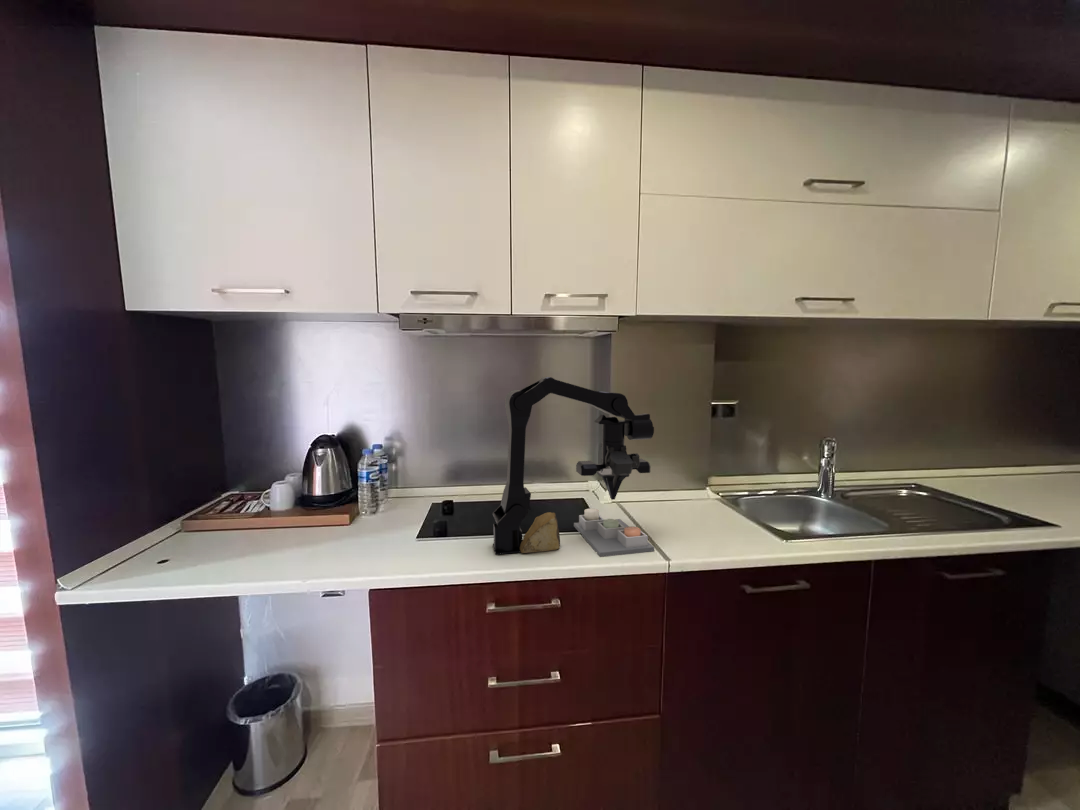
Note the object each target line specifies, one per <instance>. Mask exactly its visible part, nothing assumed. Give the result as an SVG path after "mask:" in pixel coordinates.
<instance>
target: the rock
mask: <svg viewBox="0 0 1080 810" xmlns="http://www.w3.org/2000/svg"><path fill="white" fill-rule="evenodd" d="M560 547H561V537H560V530H559V525H558V518H557V516H556V512H551V511H550V512H549V511H548V512H545V513H543V514H540V515H538V516H536V517H535V518H534V521H533V523H532V524H531V525H530V527H529V528H528V530H527V532H525V533H524V535H523V536H522V542H521V544H520V548H519V549H520V551H521V552H520V553H521V554H527V553H536V552H549V551H556V550H559V549H560Z"/></svg>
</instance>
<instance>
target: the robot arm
mask: <svg viewBox="0 0 1080 810" xmlns="http://www.w3.org/2000/svg"><path fill="white" fill-rule="evenodd" d="M550 394H552V395H555V396H559V397H563V398H565V399H570V400H574V401H575V402H576V401H577V402H580V403H584V404H587V405H589V406H591V407H592V408H595V409H597V410H599V411H601V412H603V413H605V414H607V415H611V416H606V415H605V414H602V413H600V415H599V416H598V417H597V418H596V419H594V424H597V425H598V424H599V425H602V427H601V428H602V430H601V431H602V433H601V434H602V435H601V439H602V440H601V443H600V447H601V448H602V449H601V451H602V453H601V458H600V462H601V463H595V462H594V461H592V460H578V461H577V463H576V464H575V472H577V473H578V474H579V475H580V476H582V477H588V476H589V477H590V476H592V477H593V476H595V475H598V476H600V478H602V480H603V482H604V484H605V488H606V490H607V492H608V496H609V498H610V499H611V500H616V498H617V495H618V492H619V489H620V487H621V486H622V483H623V482H624V480H625V479H626V478H629V477H630V474H632V471H633V470H636V471H637V472H638V473H639V474H649V473H651V464H650V462H649V461H647V460H645V459H643V458H640V455H639V454H638V453H637V452H636V453H629V454H628V452H627V446H626V444H625V437H627V439H628V440H631V441H633V440H634V441H635V440H638V441H639V440H651V439H652V438H653V436H654V433H655V427H654V424H653V421H652V419H651V414H649V413H640V414H636V413H634V411H633V410H632V408H630V406H629V402H628V399H627V397H626V395H624V393H618V392H610V391H600V390H593V389H590V388H586V387H582V386H579V385H576V384H572V383H569V382H566V381H561V380H560V379H559V380H558V379H555V378H554V377H552V376H551V377H550V376H544V377H543V376H542V377H541V378H539V379H538V380H537V381H535V382H534V383H532V384H529V385H527V386H526V387H523V388H521V389H520V390H518V389H516V390H514V389H513V390H512V391H509V392H508V393H507V394H506V395H505V399H504V406H505V414H506V418H507V424H508V448H507V468H506V469H507V472H506V473H507V474H506V476H507V477H506V483H505V486H504V488H503V492H502V496H501V501H500V504H499V506H497V508H496V509H495V510H494V511H493V512H492V516H493V520H494V521H495V522H496V523H493V524H492V525H493V543H492V547H493V551H494V554H495V555H496V556H497V555H498V556H499V555H509V554H518V553H521V551H520V549H519V548H520V544H521V542H522V540H523V530H522V529H521V524H522V521H523V520H524V519H525V518H527V516H528V513H529V510H531V509H532V508H531V503H530V502H531V498H532V497H531V496H532V492H530V491H529V489H528V488H527V487H525V485H524V484H525V481H524V479H525V478H524V477H525V476H524V475H525V454H526V451H525V450H526V432H527V430H526V429H527V426H528V422H529V420H530V417H531V414H532V413H531V412H532V408H533V405H535V404H537V403H538V402H540V401H542V400H543V399H544V398H545V397H547V396H549V395H550ZM612 415H613V416H612ZM618 418H621V419H622V420H621V419H618Z"/></svg>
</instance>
